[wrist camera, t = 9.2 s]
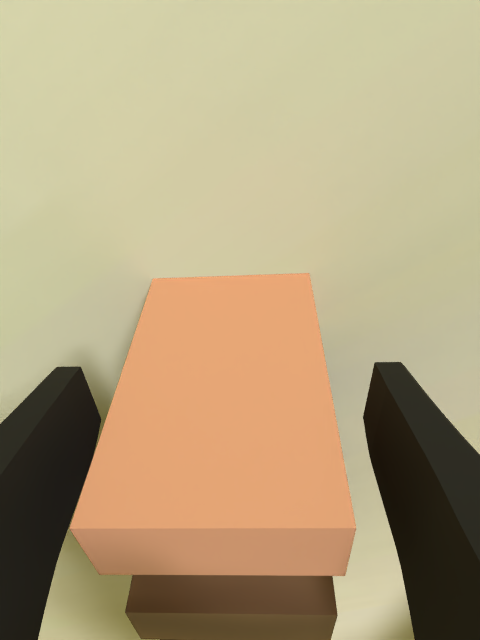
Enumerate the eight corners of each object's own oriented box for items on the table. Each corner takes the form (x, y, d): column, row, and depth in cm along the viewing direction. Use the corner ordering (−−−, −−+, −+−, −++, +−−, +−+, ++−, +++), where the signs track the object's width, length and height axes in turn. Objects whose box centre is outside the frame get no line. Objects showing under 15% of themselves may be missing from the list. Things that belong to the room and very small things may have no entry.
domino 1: (306, 322, 15) (344, 575, 9) (163, 326, 15) (99, 574, 9) (309, 273, 14) (356, 528, 7) (153, 278, 14) (69, 528, 8)
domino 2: (302, 403, 17) (329, 641, 11) (180, 405, 18) (141, 638, 11) (305, 368, 16) (337, 614, 10) (174, 370, 16) (125, 612, 10)
